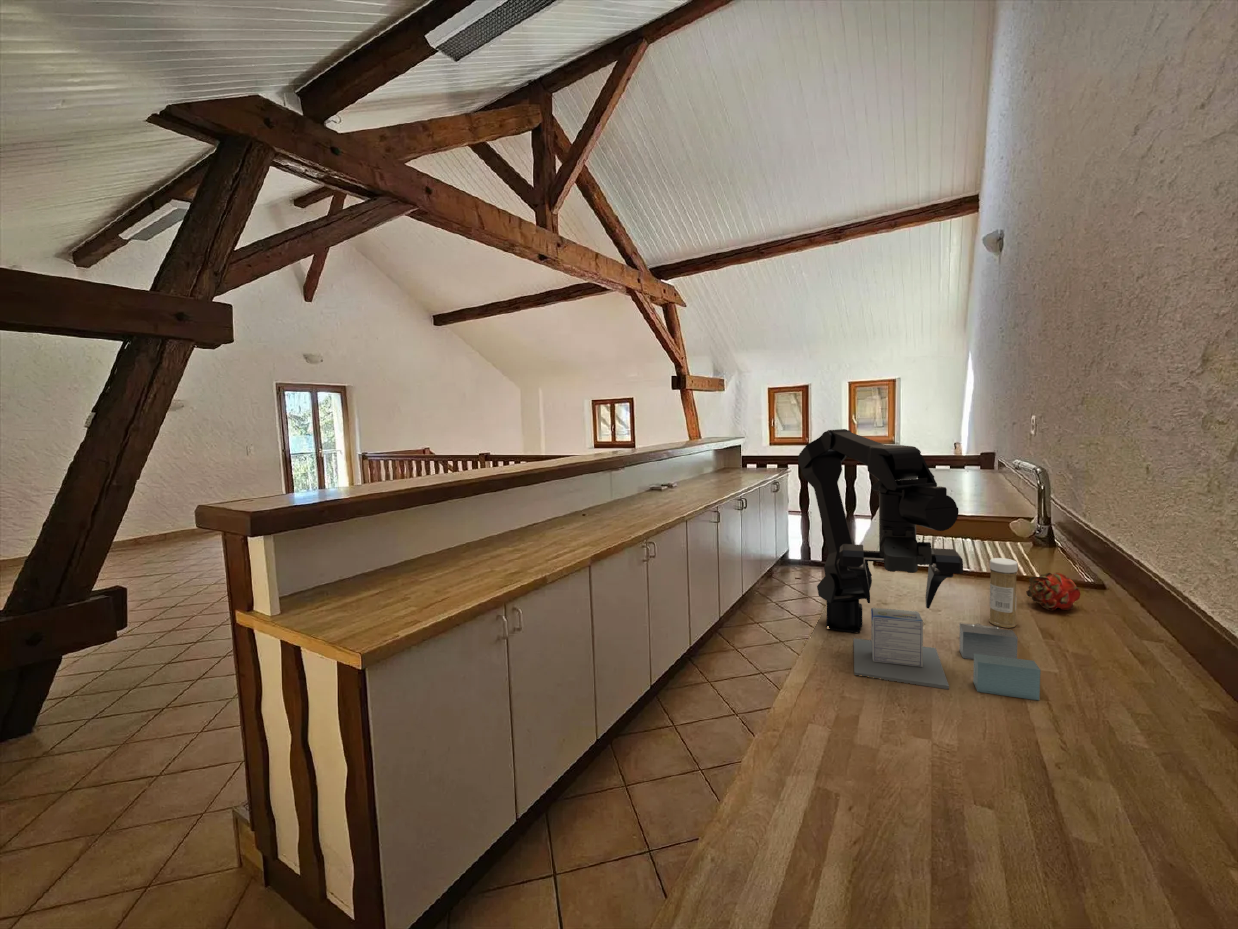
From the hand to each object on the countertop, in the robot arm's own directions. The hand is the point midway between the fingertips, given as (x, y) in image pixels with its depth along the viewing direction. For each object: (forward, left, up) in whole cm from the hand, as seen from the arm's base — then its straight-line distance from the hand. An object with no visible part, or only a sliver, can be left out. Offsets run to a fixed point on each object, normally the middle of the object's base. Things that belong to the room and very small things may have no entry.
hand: (897, 605), depth 92 cm
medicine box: (0, 0, -11) cm, 11 cm away
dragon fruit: (+33, +37, -11) cm, 51 cm away
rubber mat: (0, 0, -11) cm, 11 cm away
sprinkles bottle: (+21, +24, -11) cm, 34 cm away
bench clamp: (+15, +4, -11) cm, 19 cm away
